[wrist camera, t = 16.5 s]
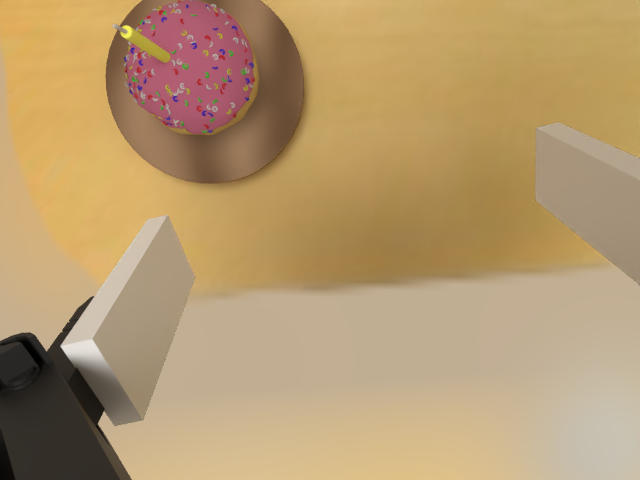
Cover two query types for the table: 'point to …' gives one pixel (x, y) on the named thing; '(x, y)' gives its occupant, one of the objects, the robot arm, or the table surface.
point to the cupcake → (191, 67)
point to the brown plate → (235, 141)
